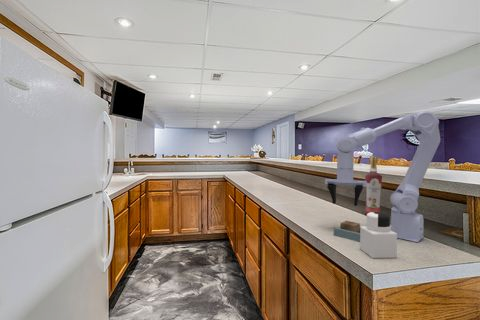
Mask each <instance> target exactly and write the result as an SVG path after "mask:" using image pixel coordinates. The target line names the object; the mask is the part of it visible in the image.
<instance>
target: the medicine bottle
mask: <svg viewBox="0 0 480 320" xmlns="http://www.w3.org/2000/svg"><path fill="white" fill-rule="evenodd" d="M359 248H360V249H359V250H361V251H363V252H364V253H365V254H367V255H368V256H369V257H371V258H372V259H396V258H397V256H398V255H397V254H398V253H397V251H398V249H397V248H398V238H397V233H395V232H393V231H391V215H389V214H387V213H384V212H381V211H380V212H370V213H368V214H366V226H365V225H364V226H363V225H360V242H359Z"/></svg>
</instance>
